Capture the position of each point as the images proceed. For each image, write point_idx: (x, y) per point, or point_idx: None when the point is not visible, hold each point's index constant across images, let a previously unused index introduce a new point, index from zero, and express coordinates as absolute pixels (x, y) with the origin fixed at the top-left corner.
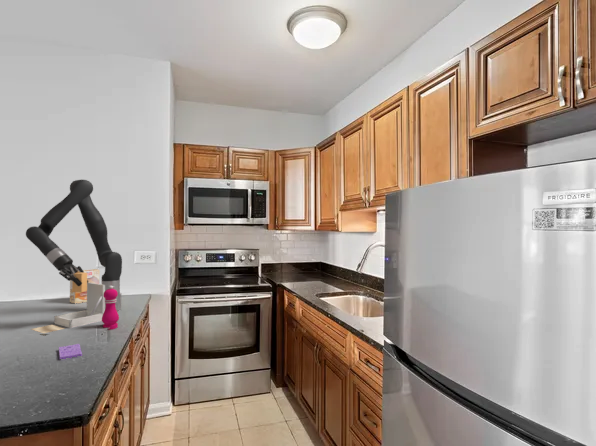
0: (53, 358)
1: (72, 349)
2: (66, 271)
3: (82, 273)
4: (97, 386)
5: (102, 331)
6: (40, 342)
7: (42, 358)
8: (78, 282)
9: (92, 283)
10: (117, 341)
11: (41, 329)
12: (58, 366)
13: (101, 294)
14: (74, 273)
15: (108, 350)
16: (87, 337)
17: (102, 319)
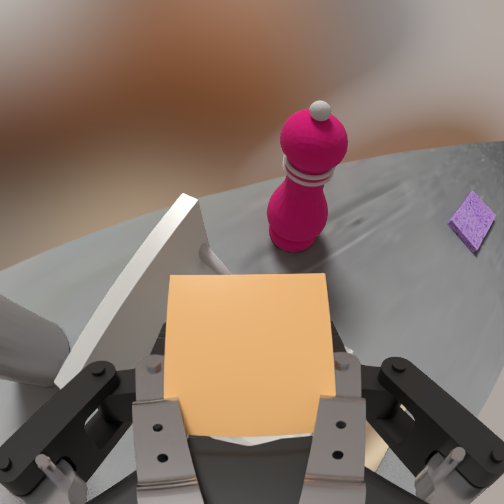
0: (494, 234)
1: (471, 215)
2: (460, 437)
3: (294, 278)
4: (495, 144)
5: (333, 235)
6: (454, 344)
7: (501, 253)
8: (333, 324)
9: (99, 330)
10: (392, 166)
11: (371, 444)
12: (501, 206)
13: (198, 249)
14: (334, 396)
15: (434, 164)
16: (393, 245)
17: (323, 226)
